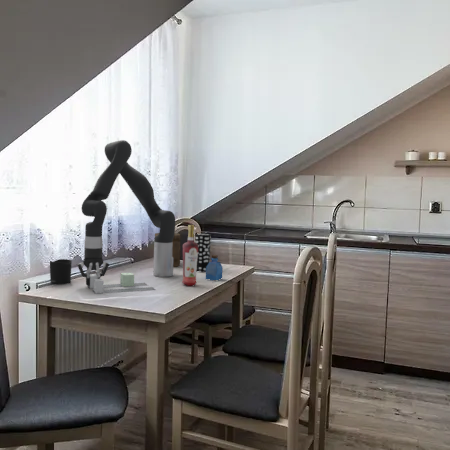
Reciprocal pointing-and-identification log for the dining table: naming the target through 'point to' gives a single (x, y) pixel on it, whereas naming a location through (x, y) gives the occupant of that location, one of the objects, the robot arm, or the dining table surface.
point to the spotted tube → (203, 251)
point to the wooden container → (175, 249)
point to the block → (127, 279)
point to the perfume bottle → (214, 269)
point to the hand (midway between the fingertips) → (92, 285)
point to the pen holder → (60, 271)
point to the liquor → (190, 259)
